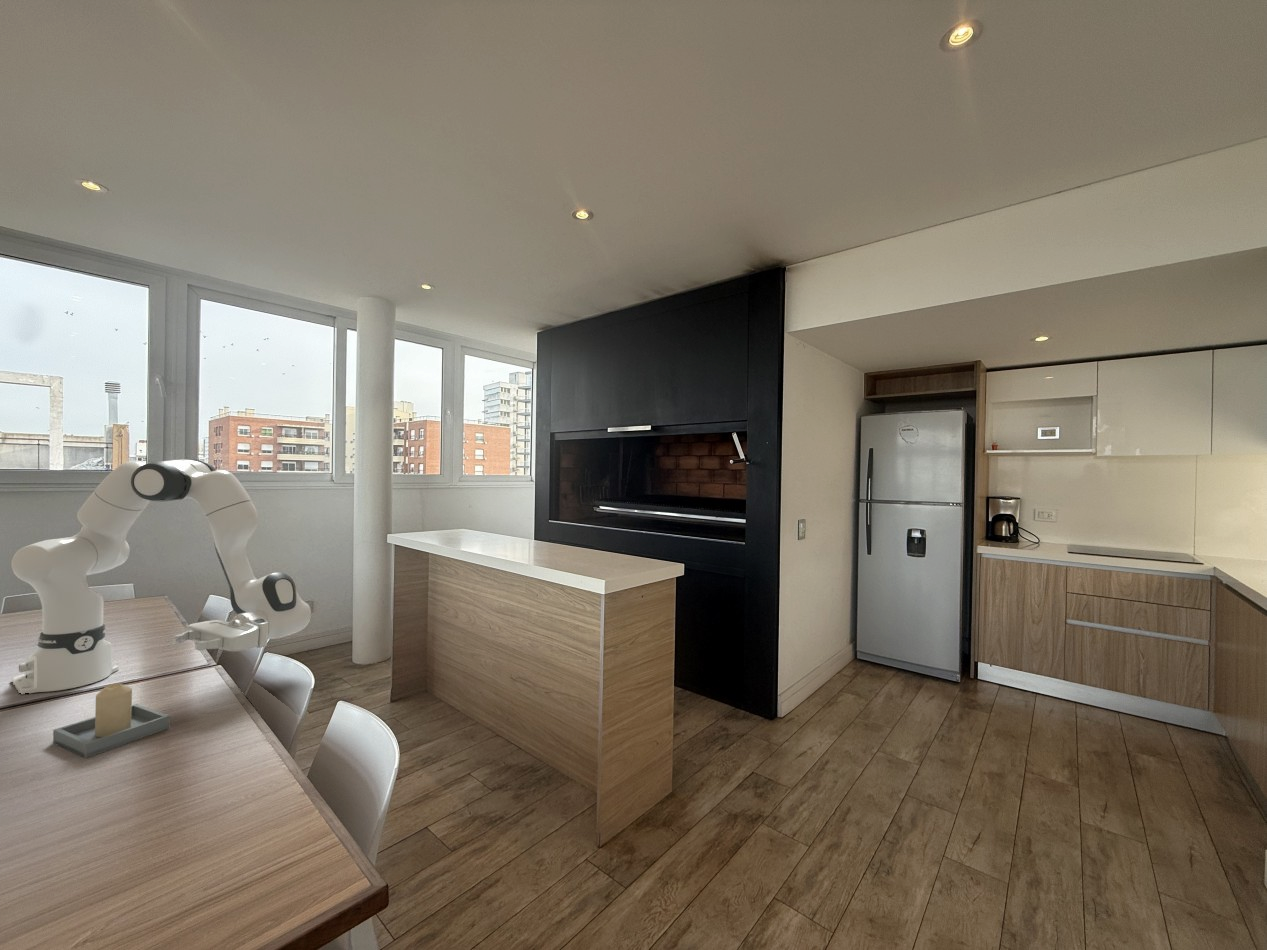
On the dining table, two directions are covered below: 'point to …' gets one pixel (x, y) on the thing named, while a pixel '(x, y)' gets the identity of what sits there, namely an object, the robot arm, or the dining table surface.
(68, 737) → the serving tray
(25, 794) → the dining table surface
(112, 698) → the candle
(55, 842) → the dining table surface
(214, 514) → the robot arm
